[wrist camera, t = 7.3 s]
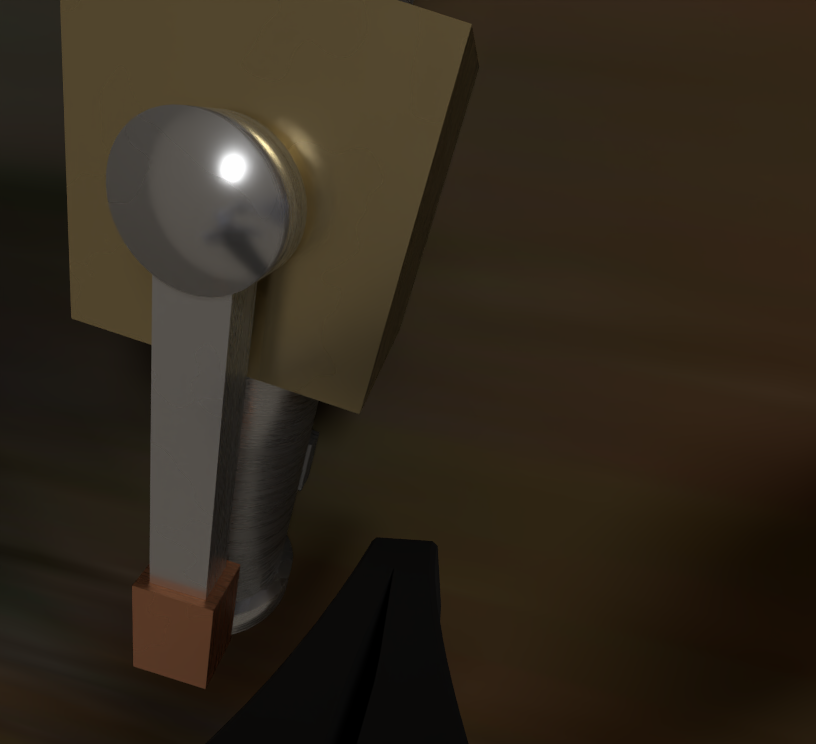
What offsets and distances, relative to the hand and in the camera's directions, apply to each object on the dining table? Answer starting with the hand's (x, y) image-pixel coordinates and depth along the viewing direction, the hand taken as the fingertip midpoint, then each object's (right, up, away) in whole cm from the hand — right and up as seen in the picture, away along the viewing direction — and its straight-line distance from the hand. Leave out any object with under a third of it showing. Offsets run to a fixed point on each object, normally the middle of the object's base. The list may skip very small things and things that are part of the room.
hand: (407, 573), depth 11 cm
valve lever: (-4, +3, 0) cm, 5 cm away
